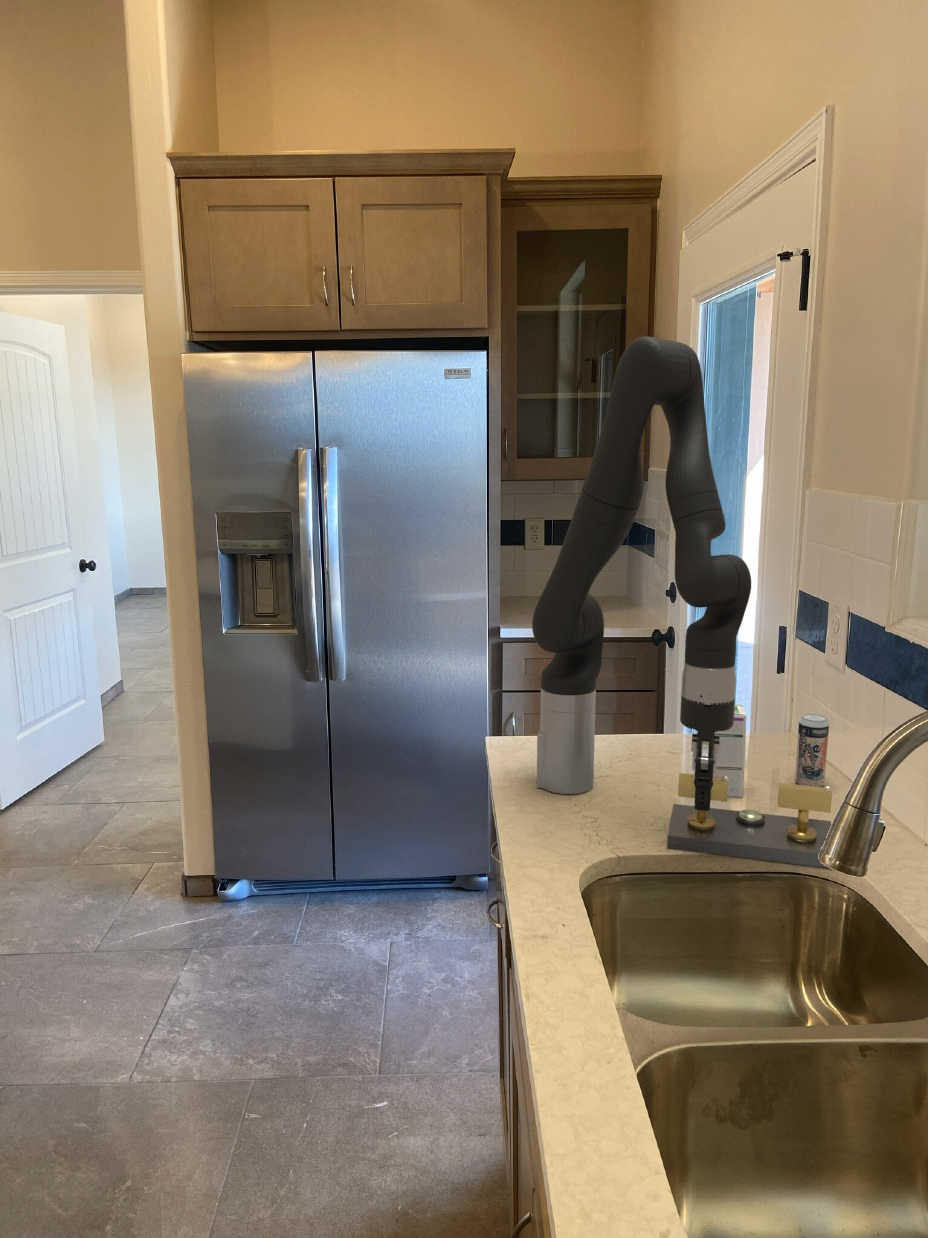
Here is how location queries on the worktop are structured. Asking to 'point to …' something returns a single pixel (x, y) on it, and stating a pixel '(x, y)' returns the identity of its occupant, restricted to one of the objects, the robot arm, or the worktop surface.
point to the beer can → (812, 750)
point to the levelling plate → (746, 836)
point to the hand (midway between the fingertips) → (702, 806)
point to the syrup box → (733, 753)
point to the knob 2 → (804, 807)
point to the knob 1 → (717, 793)
